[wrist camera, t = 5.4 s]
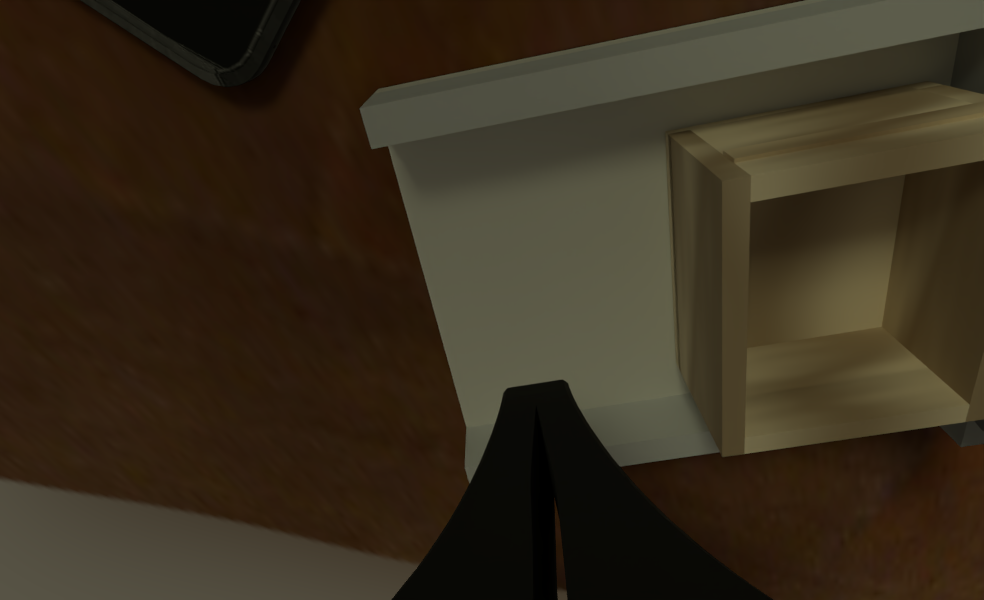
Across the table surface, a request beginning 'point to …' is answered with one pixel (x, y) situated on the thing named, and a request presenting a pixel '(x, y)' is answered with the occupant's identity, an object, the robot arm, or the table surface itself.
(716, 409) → the crate
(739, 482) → the table surface
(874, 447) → the table surface
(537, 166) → the bay
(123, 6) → the phone
